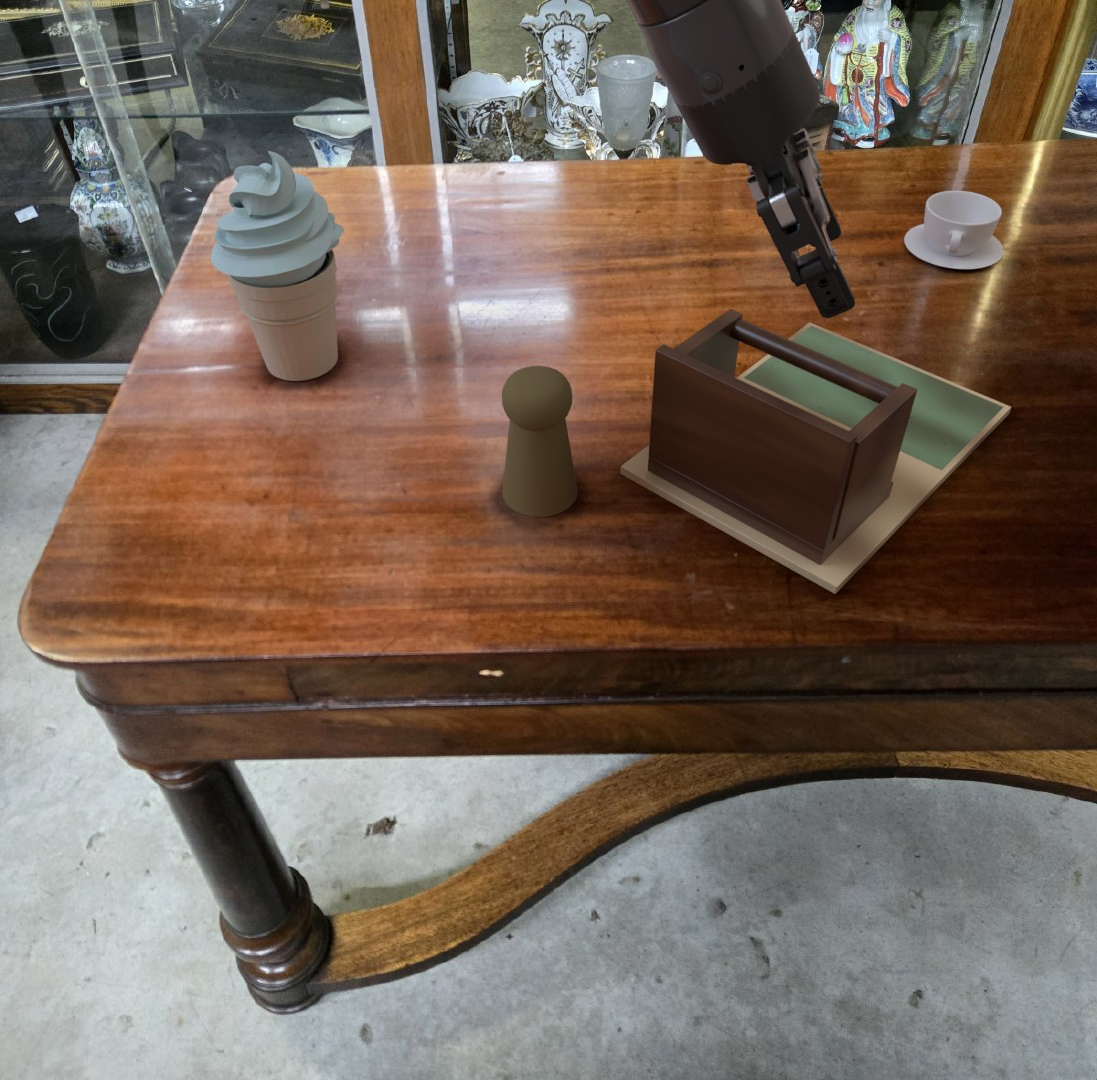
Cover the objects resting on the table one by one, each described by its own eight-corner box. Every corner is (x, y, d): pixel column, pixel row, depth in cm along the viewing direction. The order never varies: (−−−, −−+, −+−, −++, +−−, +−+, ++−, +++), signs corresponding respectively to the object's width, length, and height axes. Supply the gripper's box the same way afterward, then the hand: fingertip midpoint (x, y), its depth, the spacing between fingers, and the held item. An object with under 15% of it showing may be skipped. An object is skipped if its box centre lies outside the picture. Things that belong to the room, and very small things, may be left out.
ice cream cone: (247, 336, 99) (194, 129, 85) (364, 328, 100) (330, 121, 86) (235, 399, 92) (174, 185, 78) (361, 390, 93) (323, 176, 79)
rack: (820, 565, 75) (849, 442, 67) (647, 470, 83) (655, 349, 75) (889, 496, 80) (924, 374, 72) (720, 413, 88) (735, 294, 80)
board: (835, 594, 74) (837, 586, 74) (619, 473, 84) (620, 466, 84) (1009, 414, 89) (1011, 406, 88) (808, 329, 99) (809, 321, 98)
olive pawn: (509, 522, 80) (502, 408, 72) (496, 472, 84) (488, 359, 77) (585, 510, 81) (586, 396, 73) (568, 461, 85) (568, 349, 78)
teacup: (910, 219, 114) (919, 178, 110) (1005, 234, 111) (1018, 193, 108) (897, 263, 107) (907, 221, 104) (998, 280, 104) (1012, 237, 101)
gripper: (800, 77, 53) (905, 312, 62) (782, -23, 63) (875, 194, 72) (669, 147, 56) (787, 360, 66) (671, 42, 66) (774, 241, 75)
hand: (833, 273), depth 69 cm, fingers open, 8 cm apart
